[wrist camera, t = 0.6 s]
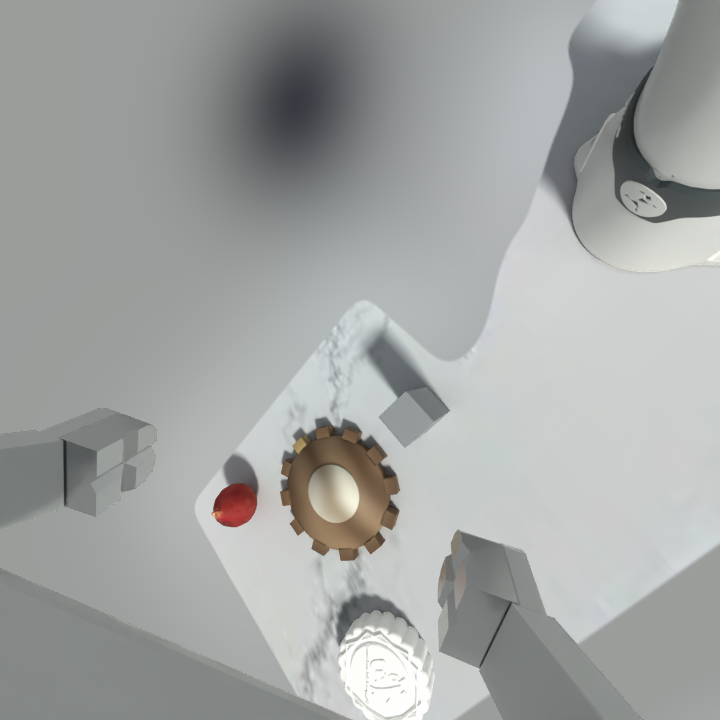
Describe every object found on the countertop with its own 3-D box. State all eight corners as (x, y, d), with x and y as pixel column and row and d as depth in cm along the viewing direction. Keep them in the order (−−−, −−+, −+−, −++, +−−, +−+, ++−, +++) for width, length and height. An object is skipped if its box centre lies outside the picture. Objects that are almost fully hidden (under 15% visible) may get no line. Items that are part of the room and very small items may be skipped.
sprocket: (341, 399, 48) (335, 400, 47) (428, 505, 43) (424, 511, 41) (266, 476, 53) (258, 479, 51) (336, 579, 48) (329, 587, 46)
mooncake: (435, 724, 42) (428, 753, 39) (346, 687, 47) (334, 711, 44) (435, 624, 43) (429, 645, 39) (347, 597, 47) (335, 614, 44)
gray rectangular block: (427, 386, 44) (406, 390, 35) (449, 410, 43) (433, 421, 33) (405, 407, 45) (378, 416, 36) (426, 431, 44) (404, 447, 34)
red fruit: (269, 516, 53) (230, 540, 45) (240, 514, 55) (198, 536, 48) (267, 477, 53) (228, 495, 46) (237, 476, 55) (196, 493, 48)
